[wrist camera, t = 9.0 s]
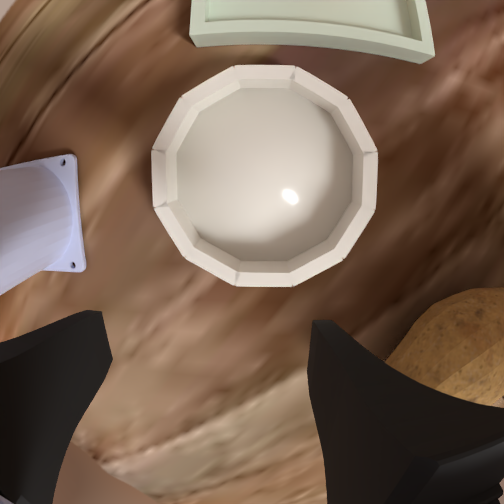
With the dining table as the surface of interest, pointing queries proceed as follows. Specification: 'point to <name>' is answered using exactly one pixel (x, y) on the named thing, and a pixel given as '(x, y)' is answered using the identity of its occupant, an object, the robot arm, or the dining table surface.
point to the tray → (317, 25)
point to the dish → (264, 175)
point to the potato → (458, 346)
